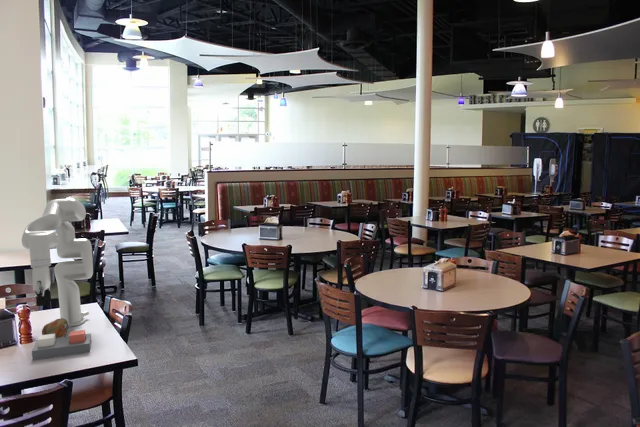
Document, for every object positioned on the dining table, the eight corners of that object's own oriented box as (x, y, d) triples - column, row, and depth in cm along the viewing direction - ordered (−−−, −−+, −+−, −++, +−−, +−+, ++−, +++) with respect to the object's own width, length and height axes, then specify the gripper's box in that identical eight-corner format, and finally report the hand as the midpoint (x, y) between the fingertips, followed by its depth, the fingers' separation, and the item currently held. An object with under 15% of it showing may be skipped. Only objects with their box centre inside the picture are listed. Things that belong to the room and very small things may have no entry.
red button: (85, 338, 241) (85, 329, 241) (84, 342, 236) (84, 333, 235) (70, 340, 239) (70, 331, 239) (69, 344, 234) (68, 335, 233)
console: (91, 341, 246) (91, 333, 246) (90, 352, 233) (89, 343, 233) (37, 349, 239) (36, 340, 238) (32, 360, 226) (31, 351, 225)
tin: (47, 344, 244) (45, 326, 243) (41, 344, 245) (39, 326, 244) (69, 333, 259) (67, 316, 258) (63, 333, 260) (61, 316, 259)
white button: (55, 342, 237) (55, 333, 237) (54, 346, 232) (53, 337, 231) (40, 344, 235) (39, 335, 235) (38, 349, 230) (37, 339, 229)
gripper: (36, 260, 236) (39, 298, 238) (25, 267, 219) (28, 309, 221) (55, 258, 238) (58, 297, 239) (45, 265, 221) (48, 307, 223)
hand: (44, 302), depth 230 cm, fingers open, 9 cm apart
